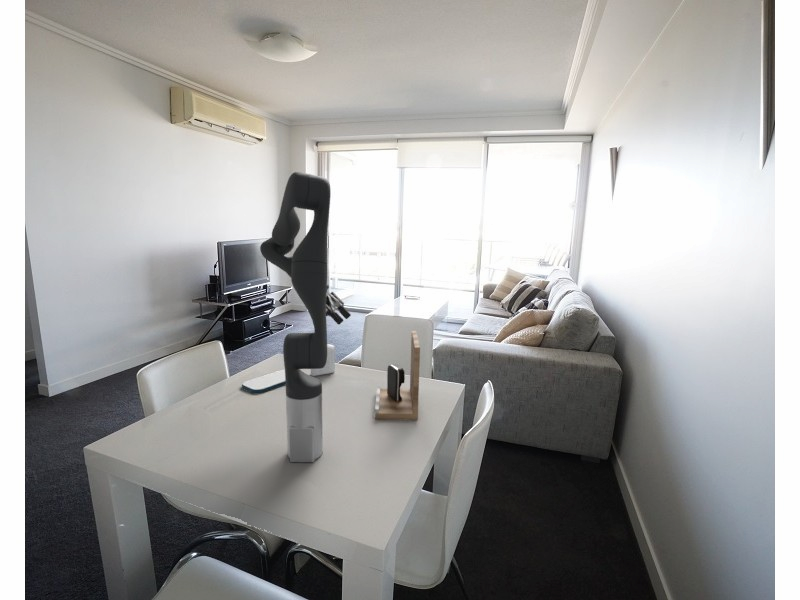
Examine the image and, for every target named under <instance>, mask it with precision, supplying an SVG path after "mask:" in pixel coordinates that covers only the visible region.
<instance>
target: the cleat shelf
mask: <svg viewBox="0 0 800 600" xmlns="http://www.w3.org/2000/svg"><path fill="white" fill-rule="evenodd" d="M410 343H411V345H410V346H411V347H410V372H409V373H410V375H409V377H410V378H409V388H400V396H401V397H402V400H399V401H395V400H393V399H392V398H391V397H390V396H389V395H388V394H387V388H381V384H377V385H376V395H375V405H374V406H375V408H374V420H396V421H397V420H399V421H400V420H402V421H403V420H405V421H406V420H408V421H413V420H414V421H415V420H416V421H418V420H419V391H420V388H419V387H420V365H421V364H420V363H421V362H420V360H421V359H420V358H421V346H420V340H419V337H418V332H417V330H411V341H410Z"/></svg>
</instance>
